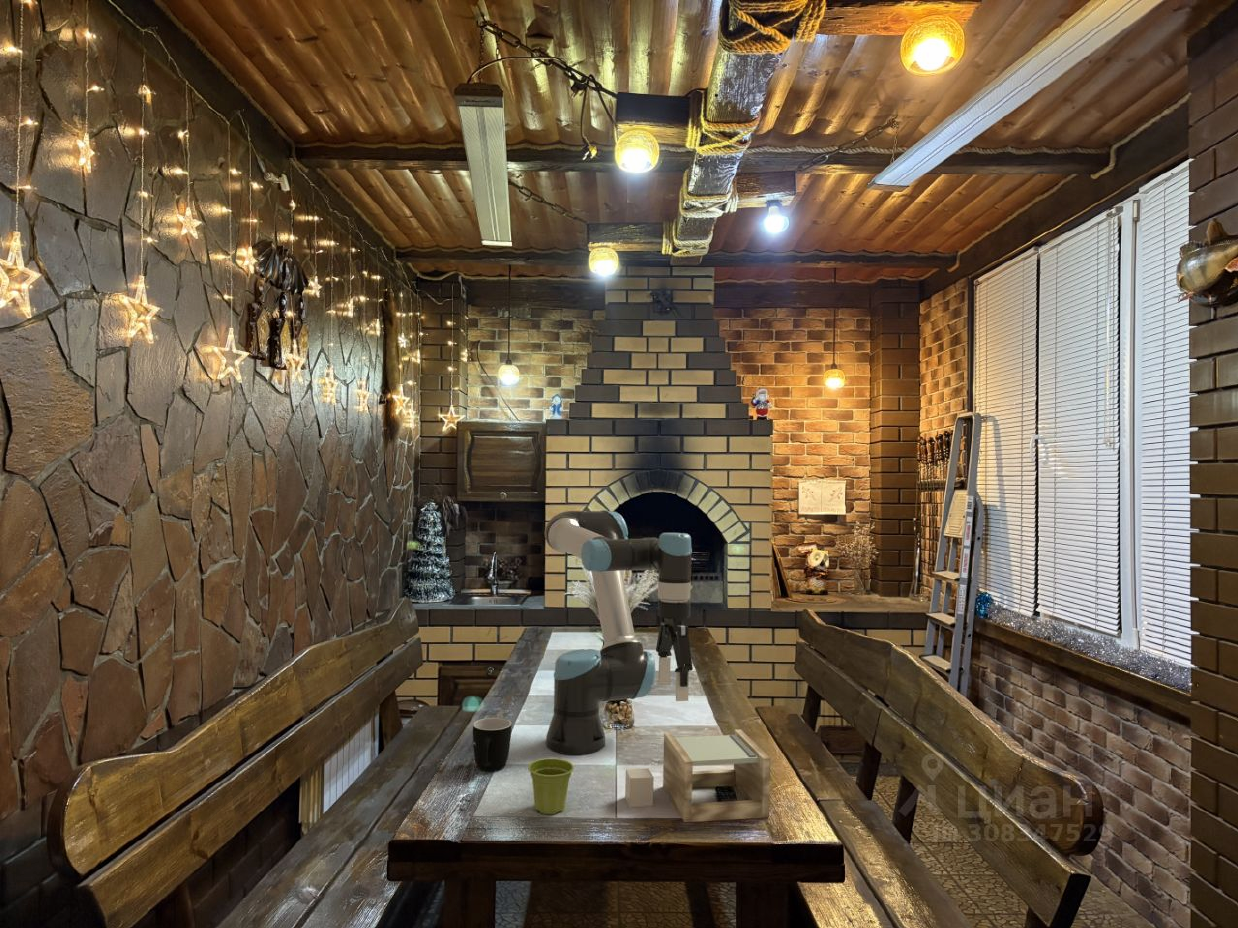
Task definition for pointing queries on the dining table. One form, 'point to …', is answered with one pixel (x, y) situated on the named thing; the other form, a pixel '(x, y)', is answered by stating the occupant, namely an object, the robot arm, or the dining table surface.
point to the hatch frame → (716, 784)
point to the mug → (491, 743)
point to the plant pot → (550, 783)
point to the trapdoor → (716, 750)
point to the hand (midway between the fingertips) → (672, 692)
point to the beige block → (639, 787)
